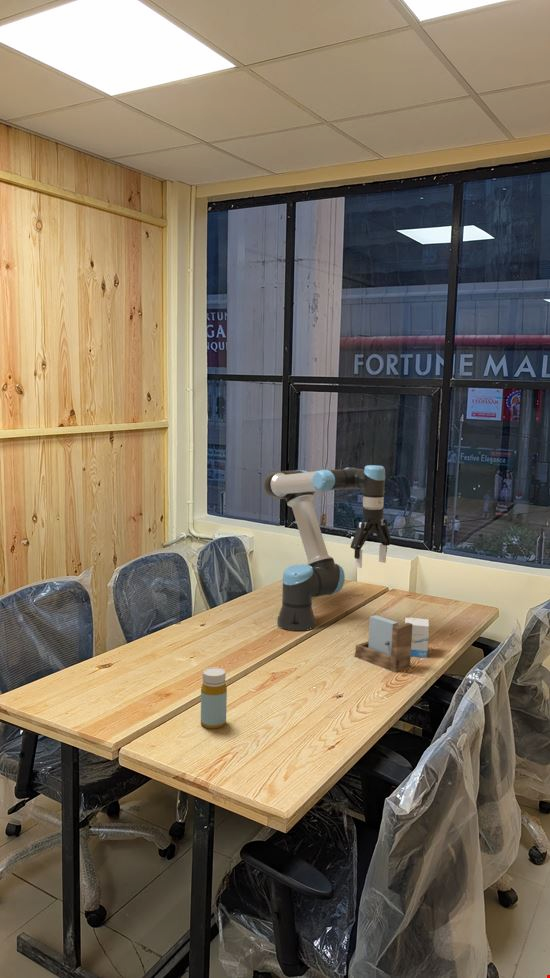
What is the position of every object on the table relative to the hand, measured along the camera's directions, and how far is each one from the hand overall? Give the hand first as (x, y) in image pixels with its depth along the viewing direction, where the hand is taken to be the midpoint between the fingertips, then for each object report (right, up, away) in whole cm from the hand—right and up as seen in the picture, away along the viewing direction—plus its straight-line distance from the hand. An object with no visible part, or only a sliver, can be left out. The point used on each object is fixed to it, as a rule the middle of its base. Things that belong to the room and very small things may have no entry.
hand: (370, 564), depth 262 cm
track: (+1, -31, -18) cm, 36 cm away
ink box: (+15, -31, -9) cm, 35 cm away
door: (+1, -30, -18) cm, 36 cm away
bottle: (-52, -37, -67) cm, 93 cm away
